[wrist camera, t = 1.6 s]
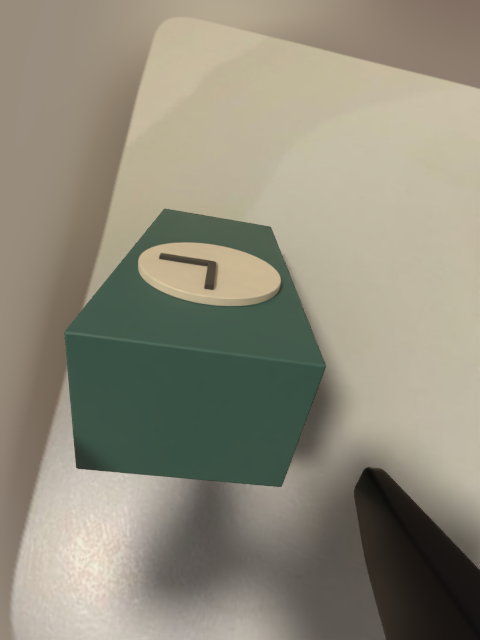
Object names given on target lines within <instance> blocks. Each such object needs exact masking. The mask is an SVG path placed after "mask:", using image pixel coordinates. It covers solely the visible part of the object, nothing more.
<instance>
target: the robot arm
mask: <svg viewBox="0 0 480 640" xmlns="http://www.w3.org/2000/svg"><path fill="white" fill-rule="evenodd" d="M354 498H355V504H356V510H357V516H358V522H359V528H360V534H361V540H362V546H363V551H364V557H365V562H366V566H367V570H368V574H369V578H370V581H371V585H372V589H373V593H374V596H375V600H376V604H377V608H378V611H379V615H380V619H381V622H382V626H383V630H384V634H385V637H386V640H480V570H479V569H478V568H477V567H476V566H475V565H474V563H473V562H472V561H471V560H470V559H469V558H468V557H467V556H466V555H465V554H464V553H463V552H462V551H461V550H460V549H459V548H458V547H457V546H456V545H455V544H454V543H453V542H452V541H451V540H450V538H449V537H448V536H447V535H446V534H445V533H444V532H443V531H442V530H441V529H440V528H439V527H438V526H437V525H436V524H435V523H434V522H433V521H432V520H431V519H430V518H429V517H428V516H427V515H426V513H425V512H424V511H423V510H422V509H421V508H420V507H419V506H418V505H417V504H416V503H415V502H414V501H413V500H412V499H411V498H410V497H409V496H408V495H407V494H406V493H405V492H404V491H403V489H402V488H401V487H400V486H399V485H398V484H397V483H396V482H395V481H394V480H393V479H392V478H391V477H390V476H389V475H388V474H387V473H386V472H385V471H384V470H382V469H380V468H371V467H367V468H365V469H364V471H363V473H362V474H361V476H360V478H359V480H358V482H357V484H356V486H355V490H354Z"/></svg>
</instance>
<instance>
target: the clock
mask: <svg viewBox="0 0 480 640" xmlns="http://www.w3.org/2000/svg"><path fill="white" fill-rule="evenodd" d="M65 343H66V344H65V345H66V356H67V367H68V379H69V390H70V401H71V413H72V424H73V436H74V447H75V458H76V468H78V469H87V470H98V471H109V472H120V473H131V474H142V475H153V476H164V477H175V478H187V479H198V480H209V481H220V482H231V483H242V484H253V485H264V486H275V487H281V486H282V484H283V482H284V479H285V476H286V474H287V471H288V468H289V465H290V463H291V460H292V457H293V454H294V452H295V449H296V446H297V444H298V441H299V438H300V435H301V433H302V430H303V427H304V425H305V422H306V419H307V416H308V414H309V411H310V408H311V405H312V403H313V400H314V397H315V395H316V392H317V389H318V386H319V384H320V381H321V378H322V376H323V373H324V370H325V367H326V365H325V362H324V360H323V357H322V355H321V352H320V350H319V347H318V345H317V342H316V340H315V337H314V334H313V332H312V329H311V327H310V324H309V322H308V319H307V317H306V314H305V312H304V309H303V307H302V304H301V302H300V299H299V297H298V294H297V292H296V289H295V287H294V284H293V281H292V279H291V276H290V274H289V271H288V269H287V266H286V264H285V261H284V259H283V256H282V254H281V251H280V249H279V246H278V244H277V241H276V239H275V236H274V234H273V231H272V229H271V227H269V226H263V225H257V224H252V223H246V222H240V221H234V220H228V219H222V218H216V217H211V216H205V215H199V214H193V213H187V212H181V211H176V210H170V209H164V210H163V211H162V212H161V213H160V215H159V216H158V217H157V218H156V220H155V221H154V222H153V223H152V225H151V226H150V227H149V228H148V229H147V231H146V232H145V233H144V234H143V236H142V237H141V238H140V239H139V241H138V242H137V243H136V244H135V246H134V247H133V248H132V249H131V250H130V252H129V253H128V254H127V255H126V257H125V258H124V259H123V260H122V262H121V263H120V264H119V265H118V266H117V268H116V269H115V270H114V271H113V273H112V274H111V275H110V276H109V278H108V279H107V280H106V281H105V283H104V284H103V285H102V286H101V287H100V289H99V290H98V291H97V292H96V294H95V295H94V296H93V297H92V299H91V300H90V301H89V302H88V303H87V305H86V306H85V307H84V308H83V310H82V311H81V312H80V313H79V315H78V316H77V317H76V318H75V320H74V321H73V322H72V323H71V324H70V326H69V327H68V328H67V329H66V331H65Z"/></svg>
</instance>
